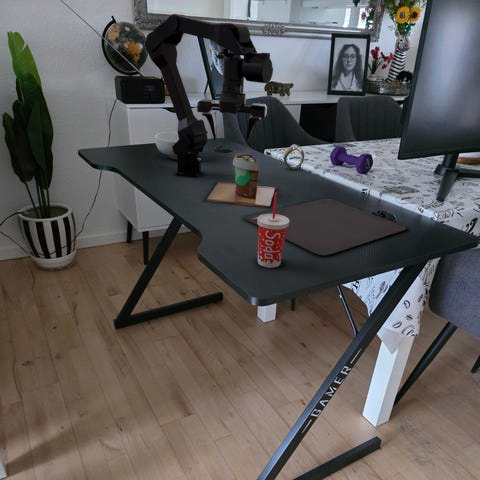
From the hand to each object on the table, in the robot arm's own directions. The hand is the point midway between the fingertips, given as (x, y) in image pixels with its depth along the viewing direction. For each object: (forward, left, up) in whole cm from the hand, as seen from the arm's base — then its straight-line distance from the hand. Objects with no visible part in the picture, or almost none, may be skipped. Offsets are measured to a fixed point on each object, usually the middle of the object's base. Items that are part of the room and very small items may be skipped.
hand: (230, 141), depth 128 cm
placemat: (+6, -10, -12) cm, 17 cm away
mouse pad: (+29, -26, -12) cm, 41 cm away
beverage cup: (+17, -52, -12) cm, 56 cm away
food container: (+6, -10, -12) cm, 17 cm away
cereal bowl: (-22, +26, -12) cm, 36 cm away
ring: (+18, +24, -12) cm, 32 cm away
